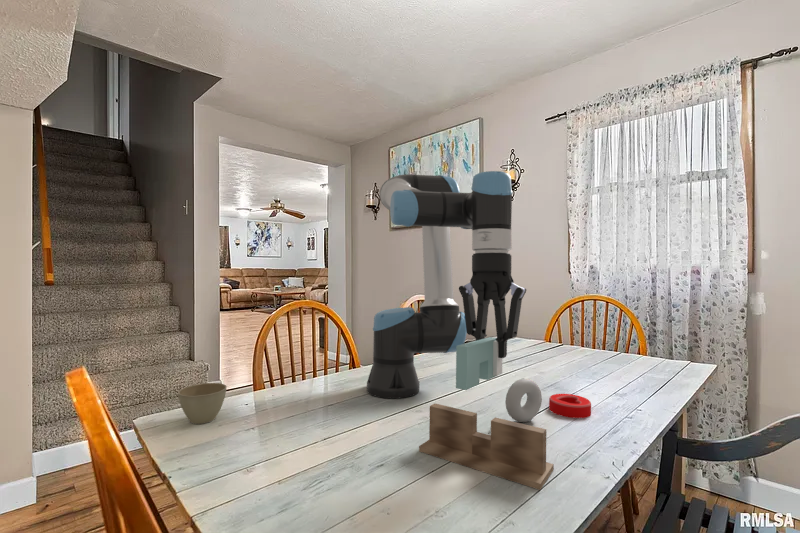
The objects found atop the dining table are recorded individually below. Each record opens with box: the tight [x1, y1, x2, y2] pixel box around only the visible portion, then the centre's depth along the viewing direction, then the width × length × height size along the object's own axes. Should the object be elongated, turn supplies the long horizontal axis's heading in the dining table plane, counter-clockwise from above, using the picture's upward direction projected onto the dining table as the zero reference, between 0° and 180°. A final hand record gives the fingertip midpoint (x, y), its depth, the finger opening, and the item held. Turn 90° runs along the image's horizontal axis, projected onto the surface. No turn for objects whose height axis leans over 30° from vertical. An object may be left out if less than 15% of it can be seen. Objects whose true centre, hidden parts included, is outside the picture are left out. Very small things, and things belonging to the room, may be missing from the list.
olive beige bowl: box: [177, 382, 227, 425], centre depth 93 cm, size 10×10×7 cm
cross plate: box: [455, 336, 497, 391], centre depth 75 cm, size 14×2×7 cm, turn 144°
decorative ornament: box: [548, 393, 592, 419], centre depth 101 cm, size 10×10×3 cm
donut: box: [505, 377, 543, 423], centre depth 94 cm, size 10×4×10 cm, turn 118°
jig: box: [418, 403, 555, 491], centre depth 75 cm, size 23×8×8 cm, turn 55°
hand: (491, 373), depth 79 cm, fingers closed on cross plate, 2 cm apart
